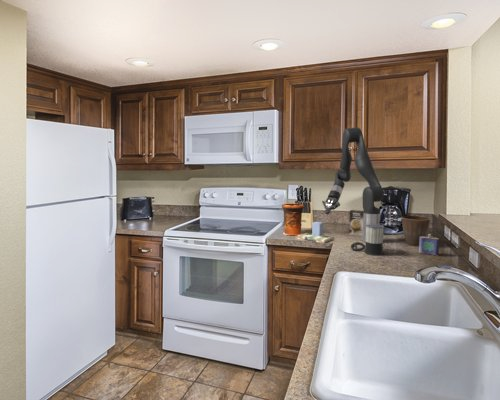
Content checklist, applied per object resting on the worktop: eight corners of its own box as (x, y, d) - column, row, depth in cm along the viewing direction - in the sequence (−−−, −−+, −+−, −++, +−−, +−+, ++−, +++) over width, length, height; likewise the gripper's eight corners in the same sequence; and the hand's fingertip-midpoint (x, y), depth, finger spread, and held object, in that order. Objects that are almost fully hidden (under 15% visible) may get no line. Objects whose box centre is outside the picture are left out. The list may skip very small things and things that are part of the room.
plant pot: (425, 249, 191) (427, 220, 189) (397, 245, 200) (398, 218, 198) (430, 244, 203) (432, 217, 201) (403, 240, 212) (405, 214, 210)
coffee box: (348, 234, 229) (349, 210, 227) (350, 233, 234) (351, 209, 232) (362, 236, 224) (363, 211, 223) (364, 234, 230) (365, 210, 228)
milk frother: (384, 256, 177) (386, 227, 175) (352, 254, 180) (353, 226, 178) (379, 249, 191) (380, 222, 189) (349, 248, 194) (350, 221, 192)
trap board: (332, 239, 214) (332, 236, 214) (324, 243, 205) (324, 239, 205) (306, 235, 225) (306, 232, 225) (297, 238, 216) (297, 235, 216)
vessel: (281, 235, 225) (281, 205, 223) (281, 231, 239) (282, 202, 238) (303, 236, 224) (304, 205, 222) (302, 232, 238) (303, 203, 236)
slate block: (322, 235, 218) (323, 222, 217) (319, 236, 214) (319, 223, 213) (315, 234, 221) (316, 221, 220) (312, 235, 217) (312, 222, 216)
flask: (418, 253, 182) (419, 233, 181) (419, 252, 184) (420, 232, 183) (438, 256, 177) (439, 235, 175) (438, 255, 179) (440, 234, 178)
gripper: (324, 189, 236) (315, 209, 227) (343, 190, 227) (334, 211, 219) (327, 196, 240) (319, 216, 232) (346, 197, 232) (337, 218, 224)
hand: (326, 213), depth 226 cm, fingers closed
